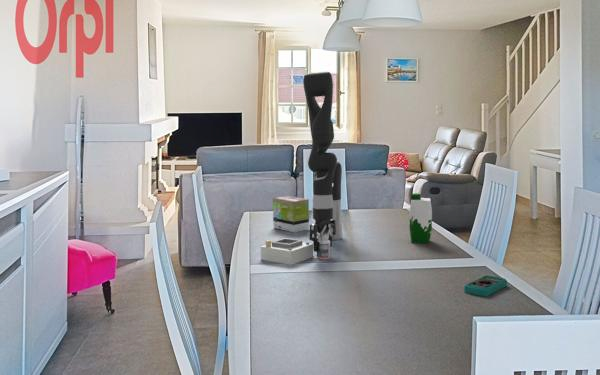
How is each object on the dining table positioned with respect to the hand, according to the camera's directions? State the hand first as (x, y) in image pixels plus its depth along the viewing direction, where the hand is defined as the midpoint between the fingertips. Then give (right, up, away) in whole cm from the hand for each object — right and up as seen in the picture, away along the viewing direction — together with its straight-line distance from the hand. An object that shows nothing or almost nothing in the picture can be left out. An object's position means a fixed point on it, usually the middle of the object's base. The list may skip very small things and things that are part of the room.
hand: (323, 249), depth 218 cm
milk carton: (+42, 0, +26) cm, 49 cm away
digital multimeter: (+48, -8, -40) cm, 63 cm away
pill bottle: (0, -3, +1) cm, 4 cm away
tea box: (-13, +3, +56) cm, 58 cm away
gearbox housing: (-13, -3, 0) cm, 14 cm away
